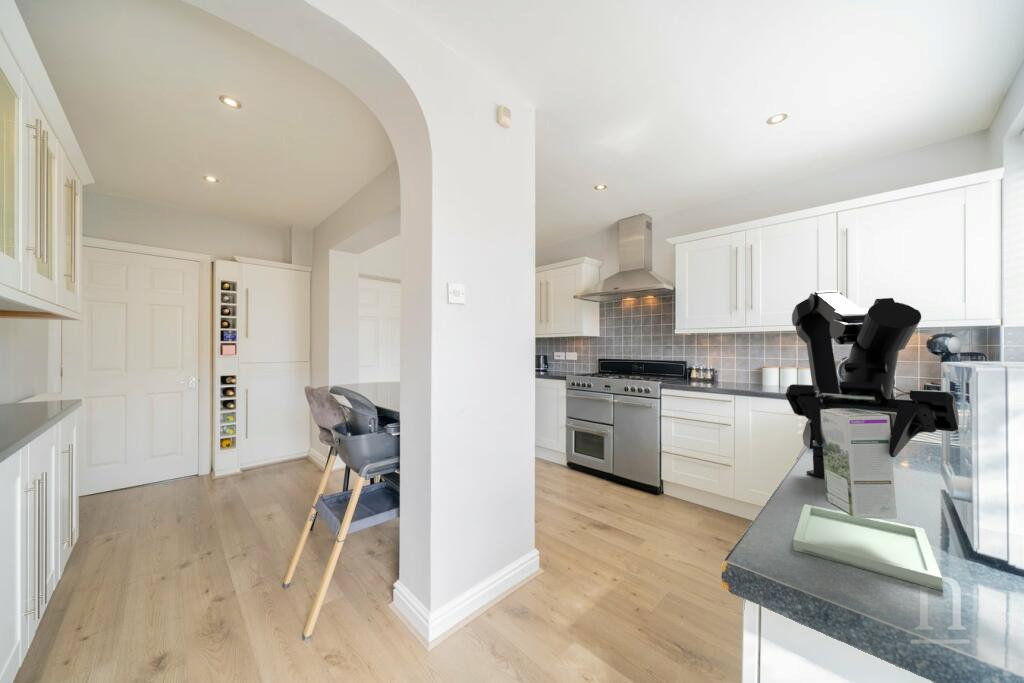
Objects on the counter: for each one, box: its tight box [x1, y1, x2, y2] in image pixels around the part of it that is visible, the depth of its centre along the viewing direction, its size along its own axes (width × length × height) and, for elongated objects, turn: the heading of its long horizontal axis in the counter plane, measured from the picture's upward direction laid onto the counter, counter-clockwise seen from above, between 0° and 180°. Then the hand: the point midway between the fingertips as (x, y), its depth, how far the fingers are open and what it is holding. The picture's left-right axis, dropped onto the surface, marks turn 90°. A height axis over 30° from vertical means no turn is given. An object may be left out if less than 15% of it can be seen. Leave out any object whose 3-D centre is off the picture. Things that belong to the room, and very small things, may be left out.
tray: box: [792, 503, 944, 591], centre depth 54 cm, size 16×14×2 cm
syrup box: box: [820, 408, 898, 520], centre depth 55 cm, size 6×6×14 cm
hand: (853, 449), depth 54 cm, fingers closed on syrup box, 8 cm apart
